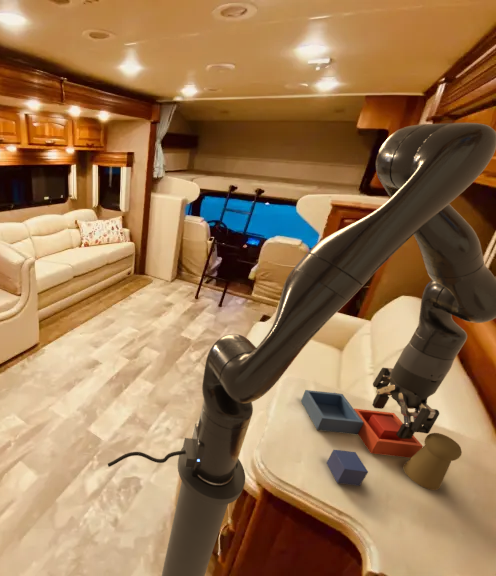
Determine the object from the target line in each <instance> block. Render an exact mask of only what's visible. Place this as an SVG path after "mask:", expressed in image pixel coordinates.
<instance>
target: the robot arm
mask: <svg viewBox="0 0 496 576" xmlns="http://www.w3.org/2000/svg"><path fill="white" fill-rule="evenodd" d="M495 153H496V130H495V129H494V128H492V126H490V125H488V124H484V123H478V122H451V123H423V124H414V125H413V124H412V125H408V126H404V127H402V128H400V129H397V130H396V131H395V132H393V133H392V134H391V135H389V136H388V137H387V139H386V140H385V141H384V142H383V143H382V145H381V146H380V148H379V150H378V153H377V155H376V159H375V171H376V175H377V178H378V180H379V182H380V184H381V185H382V187H383V188H384V190H385V191H386V193H387V195H388V196H389V197H390V198H389V199H388V200H387V201H385V202H384V203H383V204H382V205H381V206H379V207H378V208H376V209H375V210H374V211H372V212H370V213H369V214H367V215H366V216H364V217H362V218H361V219H359V220H357V221H355V222H352V223H351V224H348V225H347V226H345V227H343V228H341V229H339V230H337V231H335V232H333V233H330V234H329V235H327V236H326V237H324V238H323V239H321V240H319V242H316V243H315V244H314V245H313V246H312V247H311V248H310V249H309V250H308V251H307V253H306V254H305V255H304V256H303V257H302V258H301V259H300V260H299V261H298V263H297V264H296V265H295V266H294V268H293V269H292V270H291V271H290V272H289V274H288V275H287V276H286V279H285V281H284V283H283V286H282V290H281V294H280V297H279V303H278V307H277V311H276V315H275V318H274V321H273V324H272V326H271V327H270V329H269V331H268V332H267V334H266V336H265V337H264V338H263V340H262V341H261V342H260V343H259V344H258V346H255V344H254V343H253V342H252V341H251V340H249V338H247V337H246V336H244V335H241V334H239V333H230V334H226V335H223V336H221V337H220V338H218V339H217V340H216V341H214V343H213V345H211V347H210V348H209V351H208V352H207V356H206V360H205V364H204V371H203V378H202V384H201V385H202V386H201V392H202V398H203V401H202V406H201V410H200V414H199V418H198V423H194V428H193V432H192V437H191V438H190V437H184V439H183V445H182V448H183V449H184V450H182V451H181V450H177V451H172V452H170V453H167V454H166V455H165V456H164V457H163V458H156V457H153V456H152V455H149V454H147V453H145V452H141V451H131V452H126V453H124V454H122V455H121V456H119V457H117V458H116V459H114V460H112V461H110V462H107V467H108V468H110V467H112V466H114V465H116V464H117V463H119V462H121V461H123V460H124V459H127V458H129V457H135V456H138V457H143V458H145V459H147V460H149V461H151V462H154V463H157V464H164V463H166V462H167V461H168V460H169V459H171V458H172V457H176V456H179V455H182V454H184V458H185V467H191V473H192V476H193V477H197V478H198V479H199V480H201V481H202V482H204V483H205V484H207V485H210V486H214V487H222V486H225V485H227V484H229V483H230V482H231V480H232V478H233V475H234V471H235V467H236V469H237V466H238V463H237V460H238V459H239V457H240V454H241V451H242V448H243V445H244V443H245V439H246V436H247V432H248V429H249V426H250V423H251V419H252V416H253V413H254V407H253V402H256V401H257V400H259V399H261V398H262V397H263V396H264V395H266V394H267V393H268V392H269V391H270V390H271V389H272V388H273V387H274V386H275V385H276V384H277V382H278V381H279V380H280V379H281V378H282V377H283V375H284V374H285V372H286V371H287V370H288V368H289V367H290V366H291V365H292V364H293V362H294V361H295V360H296V358H297V357H298V356H299V354H300V353H301V352H302V351H303V349H304V348H305V347H306V346H307V345H308V344H309V343H310V341H311V340H312V339H313V338H314V337H315V336H316V335H317V333H319V331H320V330H322V328H323V327H325V325H326V324H327V323H329V321H330V320H331V319H332V318H333V317H334V316H335V315H336V314H337V313H338V312H339V311H340V310H341V309H342V308H343V307H344V306H345V305H346V304H347V303H348V302H349V301H350V300H351V299H352V298H353V297H354V296H355V295H356V294H357V293H358V292H359V291H360V290H361V289H362V287H364V286H365V285H366V283H367V282H368V281H369V280H370V279H371V278H372V277H373V275H375V273H377V271H378V270H379V269H380V268H381V267H382V266H383V265H384V264H385V263H386V262H387V261H388V260H389V259H390V258H391V257H392V256H393V255H394V254H395V253H396V252H397V251H398V250H400V248H401V247H402V246H403V245H404V244H405V243H406V242H407V241H409V240H410V238H412V237H414V240H415V241H416V244H417V246H418V250H419V251H420V255H421V258H422V261H423V264H424V267H425V270H426V273H427V275H428V277H429V278H430V281H429V282H428V283H427V284H426V286H425V287H424V290H423V292H422V295H421V299H420V300H421V301H420V308H419V309H420V310H419V317H418V324H417V327H416V329H415V330H414V333H413V334H412V336H411V338H410V340H409V341H408V343H407V344H406V345H405V346H404V348H403V349H402V351H401V353H400V355H399V357H398V358H397V361H396V362H395V364H394V366H393V368H391V367H381V369H380V371H379V373H378V374H377V376H376V377H375V379H374V381H373V382H372V386H373V388H376V395H375V397H374V399H373V401H372V405H371V406H372V407H373V408H374V409H380V410H383V409H384V408H385V407H386V405H387V403H388V401H389V399H390V397H391V398H392V399H393V400H394V401H395V402H396V403H397V405H398V406H399V407H400V413H401V415H402V416H403V422H402V423H403V424H402V426H401V427H400V429H399V430H398V432H397V434H396V435H397V436H398V437H399V438H403V439H410V438H411V437H412V436H413V435H415V433H421V434H430V432H431V430H432V429H433V426H434V425H435V423H436V421H437V419H438V417H439V416H440V411H439V410H438V409H437V408H432V407H431V406H429V405H428V399H429V397H431V396H433V395H434V394H436V392H437V390H438V389H439V388H440V386H441V384H442V383H443V381H444V380H445V378H446V377H447V375H448V374H449V372H450V370H451V369H452V366H453V363H454V361H455V359H456V357H457V356H458V354H459V353H460V351H461V350H462V348H463V346H464V345H465V344H466V342H467V339H468V334H467V332H466V330H464V329H463V328H462V327H461V326H460V325H459V324H458V323H457V322H456V321H454V319H453V316H454V317H456V318H458V319H460V320H462V321H464V322H468V323H473V324H483V323H487V322H491V321H493V320H495V319H496V276H495V275H494V274H493V273H492V271H491V270H490V269H489V268H488V266H486V263H485V260H484V254H483V250H482V245H481V241H480V239H479V237H478V235H477V232H476V231H475V230H474V228H473V226H471V225H470V223H469V222H468V221H467V220H466V219H465V218H464V216H462V215H461V214H460V213H459V212H458V211H457V210H456V209H455V208H454V207H453V206H452V204H451V203H452V202H453V201H454V200H456V199H457V198H458V197H459V196H460V195H461V194H462V193H464V192H465V191H466V190H467V189H468V188H469V187H470V186H471V185H472V184H473V183H474V182H475V181H476V180H477V179H478V177H480V175H481V174H482V173H483V172H484V170H485V169H486V168H487V167H488V165H489V163H490V162H491V160H492V158H493V157H494V155H495ZM389 396H390V397H389ZM409 410H414V411H409ZM412 418H413V421H412Z"/></svg>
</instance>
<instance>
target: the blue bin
mask: <svg viewBox="0 0 496 576" xmlns="http://www.w3.org/2000/svg"><path fill="white" fill-rule="evenodd" d="M300 402H301V404H302V406H303V408H304V409H305V412H306V413H307V415H308V417H309V418H310V420H311V422H312V424H313V425H314V427H315V429H316V430H317V431H323V432H332V433H339V434H340V433H341V434H349V435H357V436H358V432H359V431H360V429H361V427H362V425H363V423H364V422H363V421H362V420H361V418H360V417H359V416H358V414H357V413H356V412H355V410H354V409H355V408H354V407H353V406H352V405H351V404H350V402H349V401H348V399H347V397H345V395H344V394H343V393H338V392H330V391H329V392H327V391H318V390H312V389H311V390H309V389H305V390H304V393H303V394H302V398H301V400H300Z"/></svg>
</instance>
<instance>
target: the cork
mask: <svg viewBox="0 0 496 576" xmlns="http://www.w3.org/2000/svg"><path fill="white" fill-rule="evenodd" d="M423 443H424V445H422V446H423V447H422V448H421V449H420V450H419V451H418V452H417V453H416V454H415V455H414V456H413V457H411V458H408V460H407V461H406V462H405V463H404V464H403V466H402V468H403V472H404V473H405V474H406V476H407V477H408V478H409V479H410V480H412V482H414V483H415V484H418V486H420V487H422V488H424V489H427V490H431V491H437V490H440V488H441V486H442V483H443V481H444V480H445V476H446V475H447V472H448V470H449V467H450V466H451V463H452V462H453V461H456V460H458V459H460V457H461V456H462V453H463V451H462V447H461V445H460V444H459V443H458V442H457V441H456V440H454V439H453V438H451V437H449V436H447V435H445V434H443V433H440V432H431V433H428V434H427V435H426V437H425V438H424V441H423Z"/></svg>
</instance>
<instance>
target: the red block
mask: <svg viewBox="0 0 496 576" xmlns="http://www.w3.org/2000/svg"><path fill="white" fill-rule="evenodd" d="M368 425H369V426H370V427H371V429H372V430H373V431H374V433H375V434H376V435H377V437H378V438H379V439H386V440H394V441H400V440H401V438H399V437H398V436H397V435H396V434H397V432H398V430H399V429H400V426H399V425H398V423H397V422H396V421H395V420H394V419H393V418H392V417H389V416H379V415H372V416H371V418H370V419H369V421H368Z"/></svg>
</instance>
